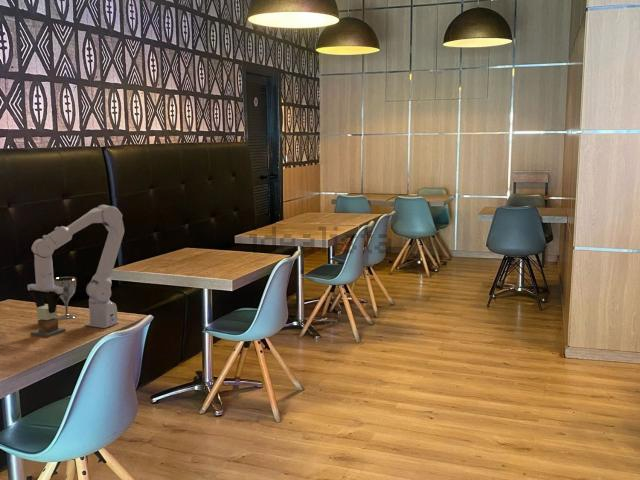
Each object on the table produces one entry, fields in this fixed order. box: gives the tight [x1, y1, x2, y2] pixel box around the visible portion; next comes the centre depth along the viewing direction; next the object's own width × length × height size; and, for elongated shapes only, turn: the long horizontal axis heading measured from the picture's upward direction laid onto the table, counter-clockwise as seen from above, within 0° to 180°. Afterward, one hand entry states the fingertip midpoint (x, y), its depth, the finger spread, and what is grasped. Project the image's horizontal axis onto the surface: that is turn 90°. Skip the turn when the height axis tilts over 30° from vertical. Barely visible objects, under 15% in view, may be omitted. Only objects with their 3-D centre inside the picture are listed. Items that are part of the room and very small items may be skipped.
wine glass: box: [54, 276, 78, 320], centre depth 241 cm, size 8×8×15 cm
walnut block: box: [37, 317, 59, 333], centre depth 221 cm, size 4×4×4 cm
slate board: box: [29, 327, 66, 339], centre depth 221 cm, size 8×8×1 cm
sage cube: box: [36, 304, 58, 320], centre depth 220 cm, size 4×4×4 cm
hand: (46, 311), depth 220 cm, fingers closed on sage cube, 4 cm apart
